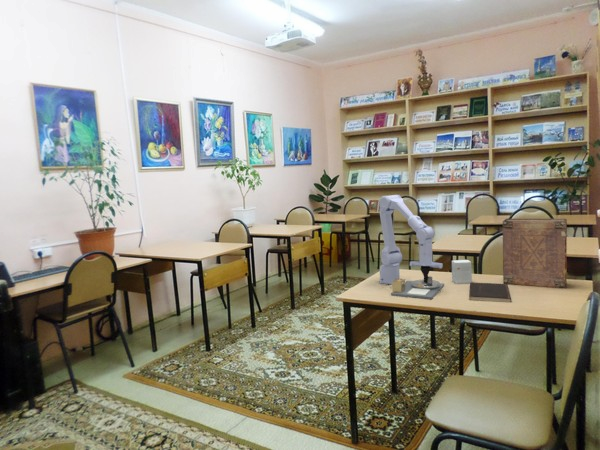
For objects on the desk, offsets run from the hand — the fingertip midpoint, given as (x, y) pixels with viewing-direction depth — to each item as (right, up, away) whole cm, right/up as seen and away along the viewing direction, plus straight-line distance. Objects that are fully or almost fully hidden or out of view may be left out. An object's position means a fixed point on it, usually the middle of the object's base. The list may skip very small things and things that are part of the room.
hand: (426, 282), depth 196 cm
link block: (-13, -4, -1) cm, 14 cm away
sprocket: (+1, -2, +4) cm, 5 cm away
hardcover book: (+25, -4, -10) cm, 27 cm away
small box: (+21, -2, +11) cm, 24 cm away
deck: (-3, -4, +1) cm, 5 cm away
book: (+51, -1, +1) cm, 51 cm away
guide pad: (-5, -4, -5) cm, 8 cm away
